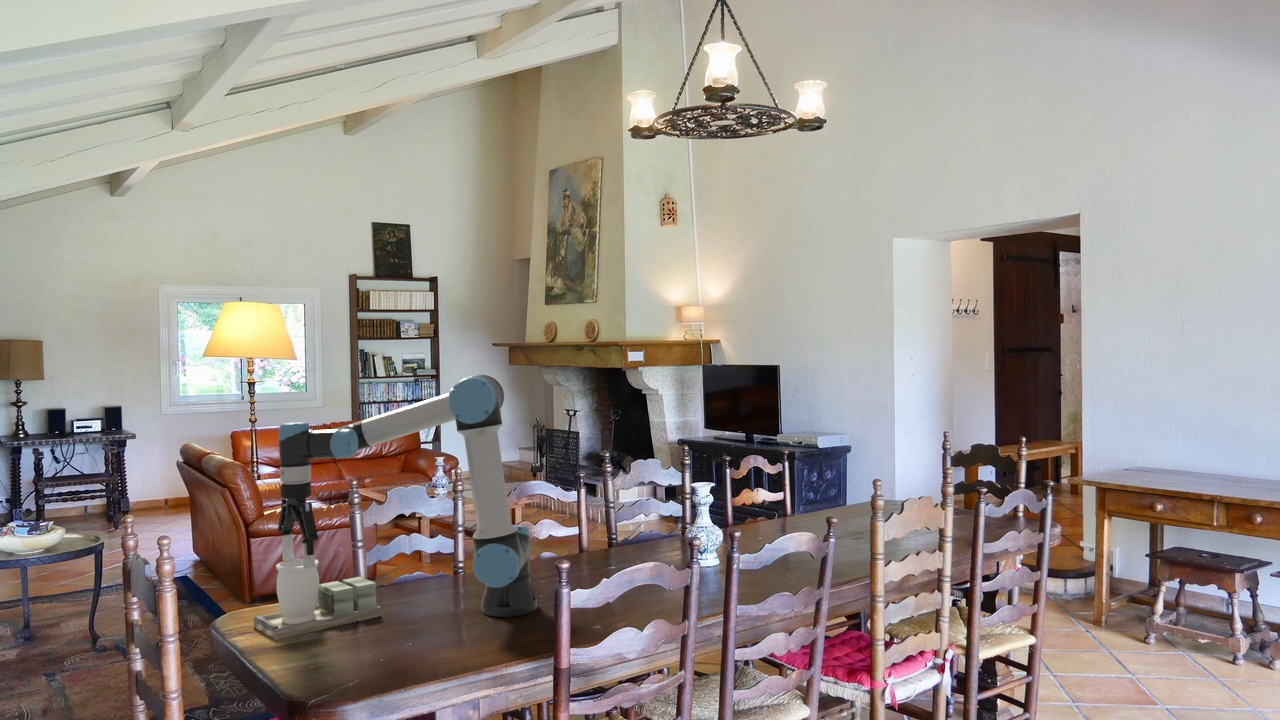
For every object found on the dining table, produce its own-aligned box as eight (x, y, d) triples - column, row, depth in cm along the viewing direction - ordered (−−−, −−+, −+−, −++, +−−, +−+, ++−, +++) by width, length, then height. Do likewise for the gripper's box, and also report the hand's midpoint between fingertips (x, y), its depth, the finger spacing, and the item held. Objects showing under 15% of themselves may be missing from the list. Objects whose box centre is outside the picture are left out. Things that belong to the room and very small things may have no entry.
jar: (305, 627, 231) (304, 568, 231) (268, 625, 233) (267, 567, 233) (328, 614, 241) (326, 558, 241) (292, 613, 243) (291, 557, 243)
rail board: (380, 616, 245) (380, 584, 245) (276, 640, 226) (275, 605, 226) (355, 605, 256) (355, 575, 256) (253, 627, 237) (253, 594, 237)
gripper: (263, 479, 243) (266, 558, 244) (300, 488, 225) (303, 573, 225) (291, 476, 248) (293, 553, 249) (330, 484, 230) (333, 568, 230)
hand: (298, 563), depth 237 cm, fingers open, 13 cm apart
